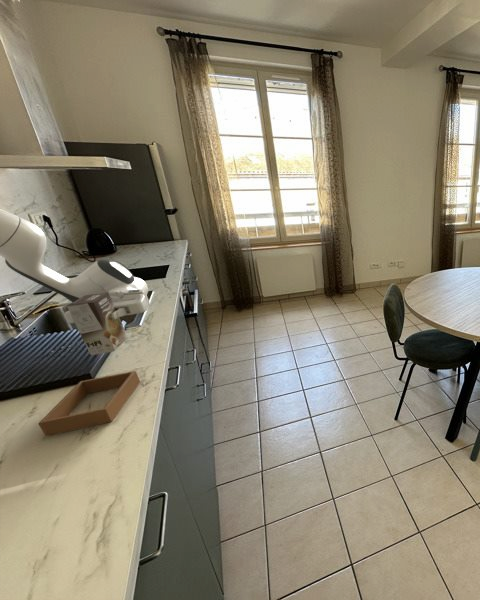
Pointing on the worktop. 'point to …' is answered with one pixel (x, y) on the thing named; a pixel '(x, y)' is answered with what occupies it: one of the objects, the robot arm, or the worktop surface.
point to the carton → (64, 422)
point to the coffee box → (97, 323)
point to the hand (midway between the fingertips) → (96, 319)
